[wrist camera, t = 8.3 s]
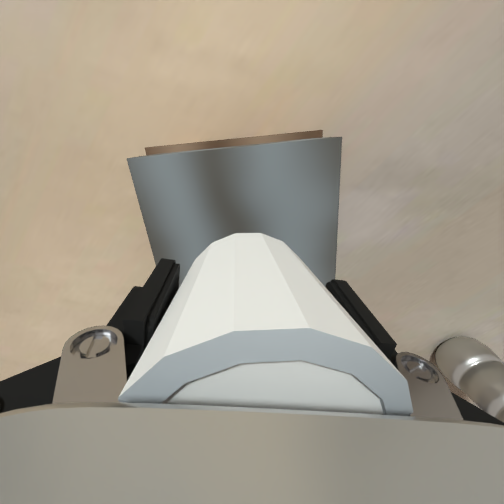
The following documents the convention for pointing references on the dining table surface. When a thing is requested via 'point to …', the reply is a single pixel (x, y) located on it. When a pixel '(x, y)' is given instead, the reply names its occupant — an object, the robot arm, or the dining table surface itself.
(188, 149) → the grey and wood block
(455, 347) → the plastic bottle
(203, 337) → the white grey-rimmed cylinder
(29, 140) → the dining table surface
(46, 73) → the dining table surface
